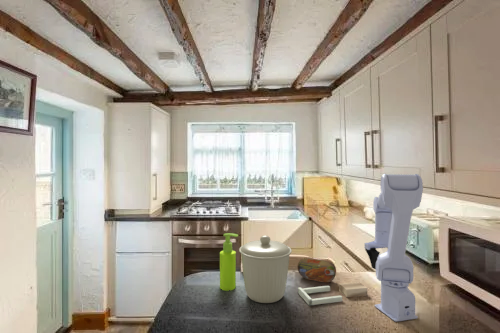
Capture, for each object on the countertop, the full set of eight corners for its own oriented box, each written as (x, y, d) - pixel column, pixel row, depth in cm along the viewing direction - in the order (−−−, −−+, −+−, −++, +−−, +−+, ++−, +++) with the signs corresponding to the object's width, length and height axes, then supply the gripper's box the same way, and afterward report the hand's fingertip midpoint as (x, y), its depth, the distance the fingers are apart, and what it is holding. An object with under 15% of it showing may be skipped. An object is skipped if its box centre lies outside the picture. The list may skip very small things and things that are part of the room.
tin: (297, 277, 116) (297, 256, 116) (299, 274, 118) (299, 254, 118) (335, 284, 109) (335, 262, 108) (336, 281, 111) (337, 260, 111)
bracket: (342, 301, 96) (342, 295, 96) (309, 305, 93) (309, 299, 93) (328, 289, 104) (328, 284, 104) (298, 293, 101) (298, 287, 101)
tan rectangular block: (367, 296, 100) (367, 287, 100) (346, 298, 98) (346, 289, 98) (359, 290, 105) (359, 281, 105) (339, 291, 103) (339, 283, 103)
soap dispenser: (236, 291, 103) (236, 236, 102) (217, 289, 104) (217, 235, 104) (240, 284, 108) (240, 232, 108) (222, 283, 110) (222, 231, 110)
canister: (289, 312, 88) (289, 244, 88) (233, 306, 92) (233, 241, 92) (292, 287, 106) (293, 230, 106) (245, 283, 110) (245, 228, 110)
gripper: (392, 226, 110) (392, 262, 110) (359, 229, 106) (359, 265, 107) (406, 231, 103) (406, 268, 103) (371, 233, 100) (371, 272, 100)
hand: (383, 267), depth 104 cm, fingers open, 7 cm apart
